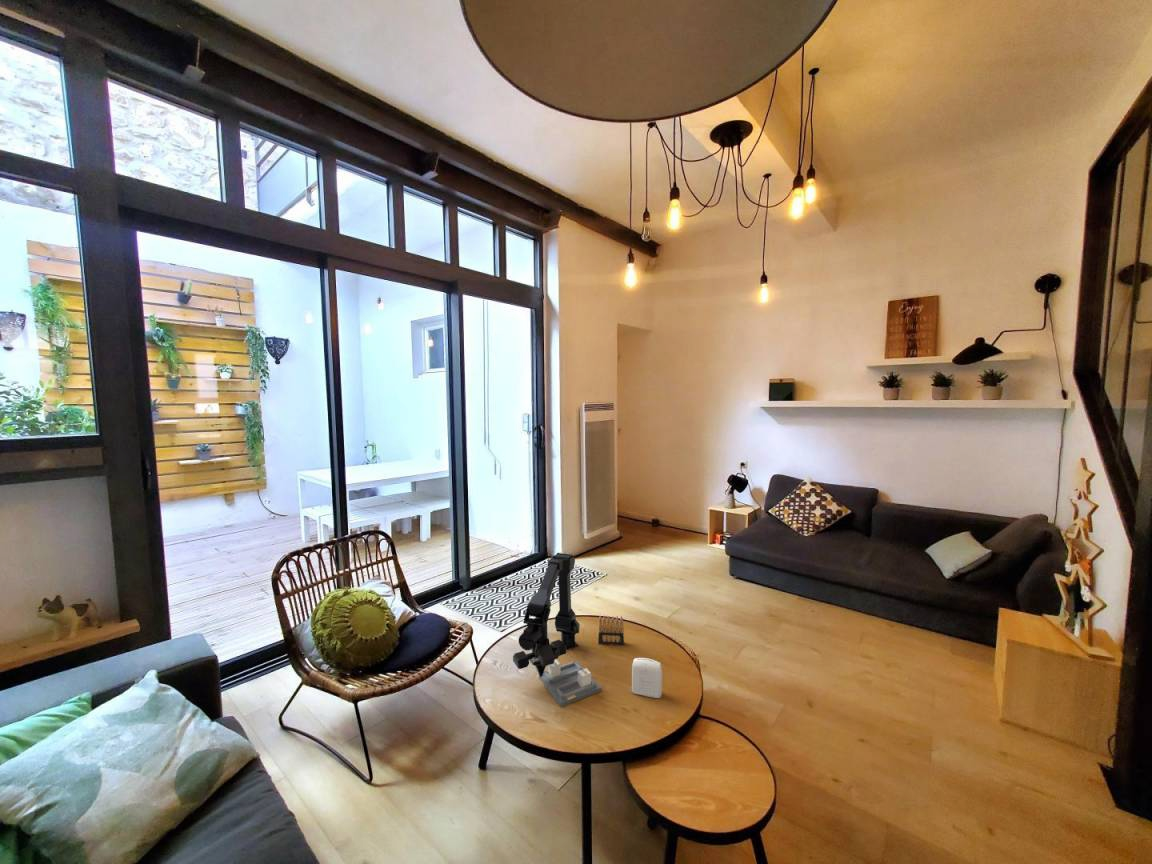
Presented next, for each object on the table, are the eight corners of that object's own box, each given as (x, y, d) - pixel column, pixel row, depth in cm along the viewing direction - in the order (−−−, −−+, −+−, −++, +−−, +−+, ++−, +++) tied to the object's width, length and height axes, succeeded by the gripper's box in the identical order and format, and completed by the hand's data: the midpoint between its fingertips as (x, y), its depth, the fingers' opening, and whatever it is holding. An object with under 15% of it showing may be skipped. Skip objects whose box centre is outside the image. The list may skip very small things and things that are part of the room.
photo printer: (662, 691, 154) (662, 658, 153) (661, 700, 150) (661, 665, 149) (633, 686, 157) (632, 653, 156) (631, 694, 153) (630, 660, 152)
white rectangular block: (548, 674, 163) (547, 660, 162) (556, 671, 164) (556, 657, 164) (551, 679, 160) (551, 665, 159) (560, 676, 162) (560, 662, 161)
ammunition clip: (598, 644, 184) (597, 616, 183) (598, 641, 186) (598, 614, 185) (624, 645, 183) (623, 617, 182) (624, 642, 185) (623, 615, 184)
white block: (577, 683, 157) (577, 669, 157) (586, 680, 159) (586, 666, 158) (582, 689, 155) (582, 674, 154) (591, 685, 156) (590, 671, 156)
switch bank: (538, 676, 164) (538, 671, 164) (576, 663, 171) (576, 658, 171) (560, 706, 148) (560, 700, 148) (601, 690, 155) (601, 684, 155)
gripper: (523, 654, 147) (524, 698, 148) (573, 638, 155) (574, 680, 157) (511, 637, 156) (513, 679, 158) (559, 623, 165) (560, 663, 167)
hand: (540, 675), depth 160 cm, fingers closed
